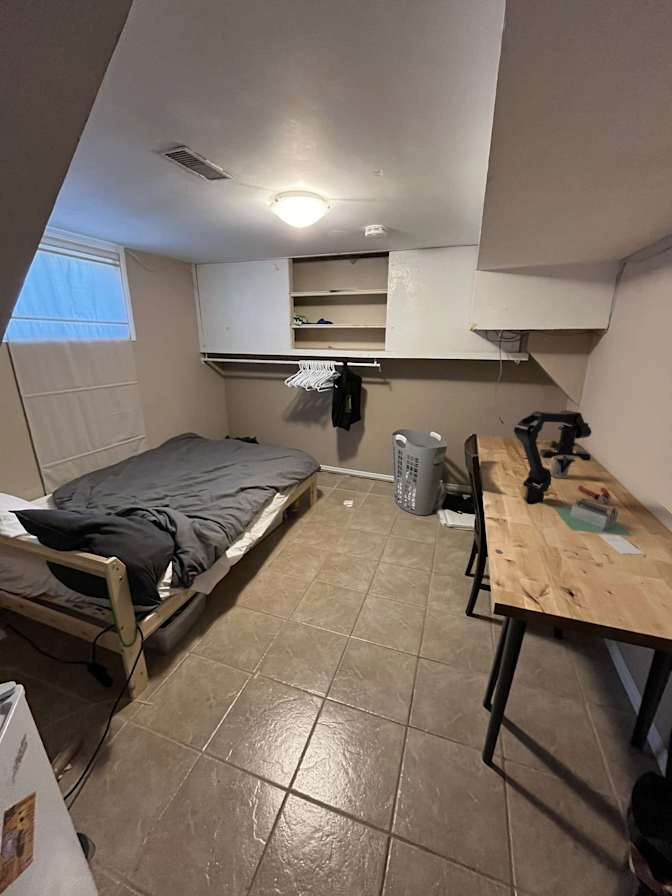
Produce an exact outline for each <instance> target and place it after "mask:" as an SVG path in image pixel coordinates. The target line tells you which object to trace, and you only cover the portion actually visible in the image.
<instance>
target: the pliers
mask: <svg viewBox="0 0 672 896" xmlns="http://www.w3.org/2000/svg"><path fill="white" fill-rule="evenodd" d="M577 489H578V491H579V492H580V493H582V492H583V493H582V494H584V493H585V495H586V494H587V496H589V497H591V496H592V497H591V498H592V499H593V498H594V499H593V500H598V499H599V500H598V502H600V504H601V505H602V506H605V504H606V505H609V506H612V503H611V502H610V501H609V496H608V495H609V492H608V490H607V489H606V488H604V487H601V488H600V492H602V494H599V493H596V492H594V491H591V490H589V489H587V488H585V487H584V486H583V485H579V486H578V488H577ZM604 501H605V502H604Z"/></svg>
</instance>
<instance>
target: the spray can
mask: <svg viewBox="0 0 672 896" xmlns="http://www.w3.org/2000/svg"><path fill="white" fill-rule="evenodd" d="M559 440H560V439H558V440H557V442H558V441H559ZM554 452H558V451H556V450H554ZM561 455H563V454H561ZM563 459H564V457H563ZM570 465H571V464H570ZM570 465H569V466H568V467H567V468H566V470H565V471H564V472H563V473H560V469H559V465H558V462H557V460H556V459H555V458H554V457H552V463H551V467H550V474H551V476H552V477H553V478H557V479H562V480H563V479H567V477H568V475H569V469H570ZM552 477H551V478H552Z"/></svg>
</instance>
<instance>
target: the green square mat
mask: <svg viewBox="0 0 672 896" xmlns="http://www.w3.org/2000/svg"><path fill="white" fill-rule="evenodd" d="M552 508H553V510H554V511H556V513H557V514H558V515H559V517H560V518H561V519H562V520H563V521H564V523H565V524H566V525H567V526H568V528H569V530H571V531H577V532H578V531H579V532H587V533H598V534H605V535H615V536H628V537H633V535H631V533H630V532H628V531H627V530H626V529H625V528H624V527H623V526H621V524H620V523H619V522H617V523H616V524H615V525H613V526H611V527H609V528H607V529H606V530H604V531H600V530H598V529H595V528H592V527H590V526H587V525H584V524H582V523H579V522H576V521H574V520H571V519H569V515H571V510H572V508H563V507H552Z"/></svg>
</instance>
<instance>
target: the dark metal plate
mask: <svg viewBox="0 0 672 896" xmlns="http://www.w3.org/2000/svg"><path fill="white" fill-rule="evenodd" d="M579 501H580V504H583V505H586V506H588V507H591V508H594V509H597V510H600V511H603V512H606V513H607V510H612V509H613V508H611V509H609V508H610V507H608V508H606V507H607V506H605V507H603V506H604V505H602V506H600V505H601V504H599V505H597V504H598V503H596V504H594V503H595V502H593V503H591V502H592V501H590V502H588V501H589V500H587V501H585V500H581V499H580V500H579ZM613 511H614V510H612V512H611V513H613Z"/></svg>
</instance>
